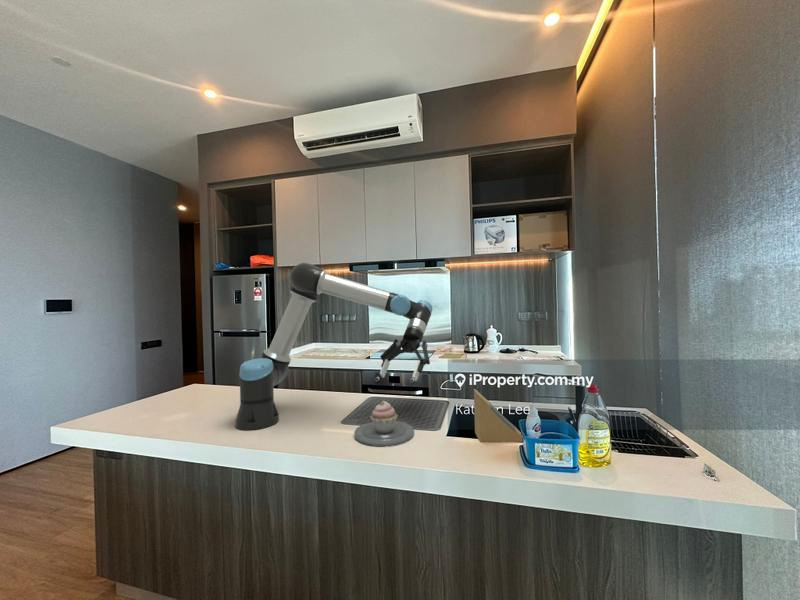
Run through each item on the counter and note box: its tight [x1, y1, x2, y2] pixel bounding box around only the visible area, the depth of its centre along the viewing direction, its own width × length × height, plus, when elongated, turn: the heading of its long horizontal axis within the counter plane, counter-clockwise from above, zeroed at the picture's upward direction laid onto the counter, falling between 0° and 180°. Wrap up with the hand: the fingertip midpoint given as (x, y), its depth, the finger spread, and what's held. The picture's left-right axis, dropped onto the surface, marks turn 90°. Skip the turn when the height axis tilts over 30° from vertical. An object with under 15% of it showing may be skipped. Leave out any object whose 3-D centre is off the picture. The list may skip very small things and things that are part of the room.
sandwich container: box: [473, 388, 523, 443], centre depth 109 cm, size 9×15×15 cm, turn 88°
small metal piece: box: [701, 463, 719, 481], centre depth 83 cm, size 6×2×3 cm, turn 163°
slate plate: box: [353, 420, 415, 448], centre depth 114 cm, size 20×20×1 cm
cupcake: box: [370, 400, 399, 433], centre depth 114 cm, size 9×9×10 cm
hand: (397, 377), depth 123 cm, fingers open, 13 cm apart
